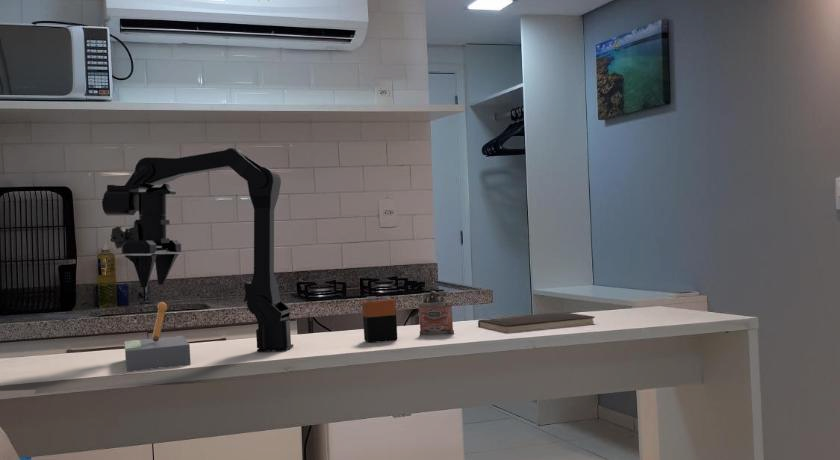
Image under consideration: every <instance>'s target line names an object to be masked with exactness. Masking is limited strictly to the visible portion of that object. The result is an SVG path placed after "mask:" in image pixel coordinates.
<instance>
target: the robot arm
mask: <svg viewBox="0 0 840 460" xmlns="http://www.w3.org/2000/svg"><path fill="white" fill-rule="evenodd" d="M230 168H231V169H232V170H233V171H234V172H235V173H236V174H237V175H238V176H240V177H241V178H242V179H244V180H245V181H246V183H247V188H248V195H249V197H250V200H251V201H250V202H251V204H252V206H253V207H252V208H253V275H252V279H251V281H247V282H244V293H245V295H244V299H243V302H244V303H245V302H246V307H247V310H248V311H249V312H250V313H251V314H252V315H254V317H255V319H256V322H257V327H258V328H257V329H256V331H255V333H256V334H255V335H256V352H258V353H259V352H260V353H261V352H285V351H288V350H290V349H291V348H293V347H294V344H293V343H292V340H291V338H292V336H291V320H290V319H289V318H290V316H291V312H292V309H291V308H290V307H289V306H288V305H287V304H285V303H284V302H283V301H282V300H281V294H280V290H279V285H278V284H279V283H278V281H277V278H276V275H275V209H276V205H277V202H278V199H279V195H280V191H281V185H282V179H281V177H280V174H278V173H279V172H278V173H277V172H276V170H274V169H271V168H268V167H263V166H262V165H260V164H259V163H257V162H256V161H254V160H253V159H251V158H249V157H248V156H247V155H245V153H243V152H242V151H241V150H240V149H239V150H238V149H236V148H232V147H230V148H227V149H225V150H217V151H212V152H208V153H206V152H205V153H200V154H194V155H188V156H183V157H174V158H173V157H172V158H171V157H148V156H147V157H143V158H141V159H139V160H138V162H137V163H136V165H135V168H134V169H135V170H134V172H133V173H132V174H131V176H130V178H129V179H128V180H127V182H126V183H125V184H124V185H117V184H107V186H106V191H105V192H104V194H103V196H102V197H103V198H102V200H101V204H102V210H103V213H104V214H105V215H106V216H135V214H136V213H137V212H138V219H135V220H134V222H133V226H132V227H130V228H126V229H125V228H124V227H123V226H116V227H113V228H112V229H111V235H110V237H111V238H110V242H112V243H114V246H115V248H116V250H117V249H118V250H119V249H121V254H123V255H124V257H125V259H128V260H129V262H130V261H131V262H132V263H133V266H134V268H135V271H136V274H137V278H138V281H139V284H140V287H141V289H142V288H147V287H148V285H149V283H150V279H151V276H152V272H153V270H154V266H155V271H156V278H157V284H158V285H159V286H163V285H164V284H165V283H166V280H167V278H168V276H169V274H170V271H171V270H172V268H173V265H174V263H175V261H176V259H177V258H178V257H179V255H180V254H179V253H181V252H182V244H181V242H180V241H179V240H178V239H170V238H167V226H168V225H170V219H167V195H168V196H170V195H171V196H173V195H174V196H175V195H176V194H177V192H176V191H175V190H174V189H172V187H170V184H169V183H171V182H173V181H175V180H177V179H179V178H181V177H184V176H188V175H194V174H201V173H207V172H214V171H220V170H225V169H230ZM156 186H157V187H156ZM144 190H145V191H144Z"/></svg>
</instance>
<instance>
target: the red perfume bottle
mask: <svg viewBox="0 0 840 460" xmlns="http://www.w3.org/2000/svg"><path fill="white" fill-rule="evenodd" d="M449 295H450V293H449V291H435V290H432V291H429V292H423V293H422V299H423V301H421V302H418V303H417V306H418V312H419V313H418V314H419V315H418V316H419V329H420V330H419V336H448V335H450V336H451V335H454V334H455V331H454V330H455V329H454V325H453V324H454V322H453V307H452V305H453V301H451V300H444V299H445V298H449Z"/></svg>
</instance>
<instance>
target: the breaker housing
mask: <svg viewBox="0 0 840 460" xmlns="http://www.w3.org/2000/svg"><path fill="white" fill-rule="evenodd" d="M190 348H191V347H190V343H189V342H188V341H187V339H186V338H185V337H184V335H177V336H167V337H159V340H158V341H157V342H155V341H153V339H152V338H146V339H145V338H144V339H134V340H133V339H132V340H124V354H125V356H124V357H125V369H126V372H134V371H135V370H136V371H143V369H145V370H152V369H151V368H154V369H160V368H159V367H164V368H170V367H169V366H173V367H179V365H182V366H189V365H188V364H191V350H190Z"/></svg>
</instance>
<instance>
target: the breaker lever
mask: <svg viewBox="0 0 840 460" xmlns="http://www.w3.org/2000/svg"><path fill="white" fill-rule="evenodd" d="M167 310H168V305H167V303H165V302H163V301H160V302H159V303H158V304H157V313H156V318H155V324H154V327H153V332H152V336H151V339H153V341H155V342H157V341H158V340H159V338H160V336H161V332H162V327H163V326H162V325H163V323H164V318H165V317H164V316H165V315H166V314H165V313H166V312H167Z"/></svg>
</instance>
